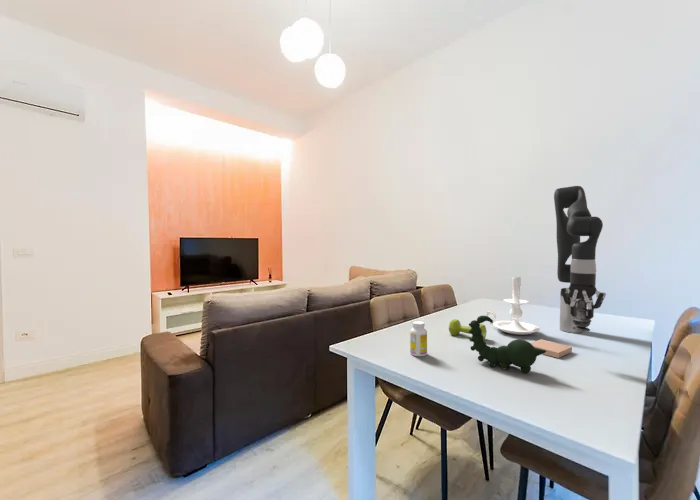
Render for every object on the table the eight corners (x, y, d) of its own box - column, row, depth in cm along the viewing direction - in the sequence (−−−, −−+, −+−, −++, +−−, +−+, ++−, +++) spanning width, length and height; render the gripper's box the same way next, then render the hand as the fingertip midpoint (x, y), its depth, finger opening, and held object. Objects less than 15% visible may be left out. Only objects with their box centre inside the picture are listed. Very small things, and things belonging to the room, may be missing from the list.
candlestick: (491, 323, 176) (492, 272, 175) (543, 331, 160) (544, 275, 159) (478, 331, 161) (479, 275, 160) (534, 341, 145) (535, 279, 144)
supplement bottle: (427, 352, 132) (428, 321, 131) (426, 358, 125) (426, 325, 125) (411, 350, 134) (411, 319, 133) (408, 356, 128) (409, 323, 127)
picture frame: (541, 339, 141) (526, 344, 134) (572, 346, 131) (558, 352, 124) (540, 344, 141) (526, 349, 134) (571, 352, 131) (558, 358, 124)
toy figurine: (468, 367, 120) (545, 380, 104) (464, 317, 120) (540, 322, 104) (477, 360, 127) (550, 371, 111) (473, 312, 128) (546, 316, 111)
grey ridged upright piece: (594, 331, 115) (595, 298, 115) (576, 331, 117) (577, 298, 116) (586, 327, 121) (587, 295, 121) (568, 326, 122) (569, 295, 122)
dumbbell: (446, 335, 155) (447, 320, 155) (454, 332, 160) (455, 317, 160) (480, 343, 143) (481, 327, 143) (488, 339, 149) (488, 323, 149)
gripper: (556, 270, 122) (555, 315, 122) (602, 274, 110) (601, 323, 111) (565, 269, 126) (564, 312, 127) (610, 272, 114) (609, 320, 115)
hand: (581, 317), depth 119 cm, fingers closed on grey ridged upright piece, 4 cm apart
